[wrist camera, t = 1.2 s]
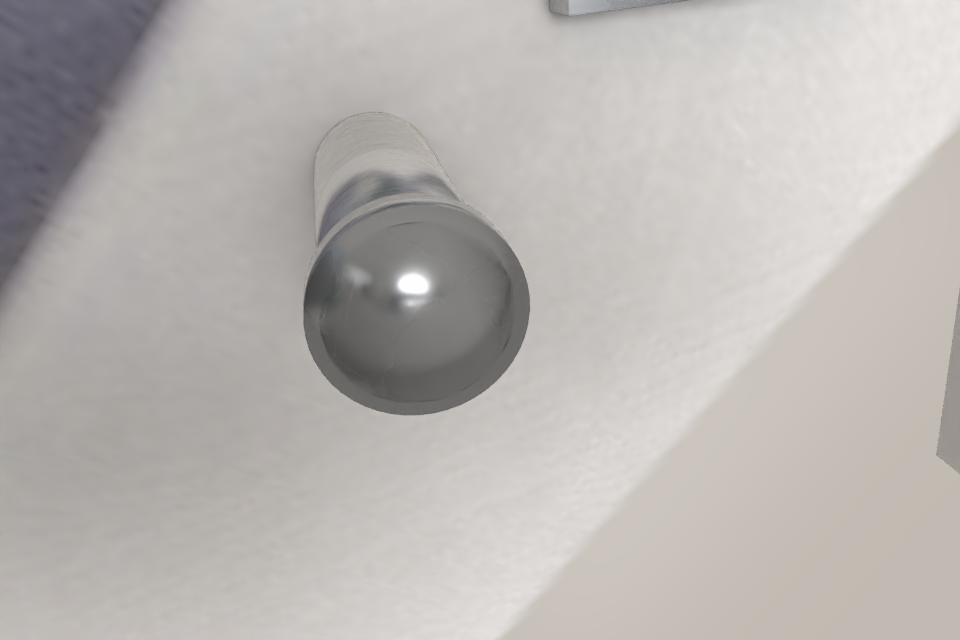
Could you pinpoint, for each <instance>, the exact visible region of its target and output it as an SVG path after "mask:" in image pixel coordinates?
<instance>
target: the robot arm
mask: <svg viewBox="0 0 960 640" xmlns="http://www.w3.org/2000/svg"><path fill="white" fill-rule="evenodd" d="M936 455H937V456H938V457H939V458H940V459H942V460H943V461H944V462H946V463H947V464H948V465H949V466H951V467H952V468H953V469H954V470H956V471H957V472H958V473H959V474H960V290H959V297H958V305H957V312H956V319H955V326H954V333H953V340H952V347H951V354H950V361H949V369H948V376H947V384H946V390H945V397H944V404H943V411H942V418H941V425H940V432H939V439H938V446H937V453H936Z"/></svg>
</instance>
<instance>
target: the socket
mask: <svg viewBox="0 0 960 640" xmlns="http://www.w3.org/2000/svg"><path fill="white" fill-rule="evenodd" d="M679 1H686V0H549V7H550V11H551V12H556V13H560V14H564V15H568V16H572V15H580V14H588V13H595V12H603V11H610V10H618V9H626V8H633V7H641V6H648V5H656V4H664V3H671V2H679Z"/></svg>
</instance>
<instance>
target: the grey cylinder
mask: <svg viewBox="0 0 960 640" xmlns="http://www.w3.org/2000/svg"><path fill="white" fill-rule="evenodd" d="M314 195H315V223H316V251H315V253H314V255H313V257H312V259H311V262H310V264H309V267H308V271H307V274H306V278H305V285H304V329H305V336H306V340H307V343H308V347H309V350H310V352H311V354H312V356H313V359H314V361H315V363H316V364H317V366H318V367H319V369H320V370H321V372H322V373H323V375H324V376H325V377H326V378H327V379H328V380H329V382H330V383H331V384H332V385H333V386H335V387H336V388H337V389H338V390H339V391H340V392H341V393H343V394H344V395H346V396H347V397H349V398H350V399H352V400H353V401H355V402H358V403H360V404H362V405H364V406H366V407H369V408H371V409H374V410H377V411H381V412H386V413H390V414H398V415H424V414H431V413H436V412H440V411H444V410H448V409H451V408H453V407H456V406H459V405H461V404H463V403H465V402H467V401H469V400H471V399H473V398H475V397H476V396H478V395H479V394H481V393H482V392H484V391H485V390H486V389H488V388H489V387H490V386H491V385H492V384H494V383H495V382H496V381H497V380H498V379H499V378H500V377H501V376H502V374H503V373H504V372H505V371H506V370H507V368H508V367H509V366H510V364H511V363H512V362H513V360H514V358H515V357H516V355H517V353H518V351H519V349H520V347H521V345H522V342H523V340H524V337H525V334H526V330H527V326H528V320H529V312H530V297H529V291H528V284H527V281H526V278H525V274H524V271H523V269H522V267H521V265H520V263H519V261H518V259H517V257H516V256H515V254H514V253H513V251H512V250H511V248H510V247H509V245H508V244H507V242H506V241H505V239H504V238H503V236H502V235H501V234H500V232H499V231H498V230H497V229H496V228H495V226H494V225H493V224H492V223H491V222H490V221H489V220H488V219H486V218H485V217H484V216H483V215H482V214H481V213H479V212H478V211H476V210H474V209H473V208H471V207H470V206H468V205H466V204H465V203H464V201H463V200H462V198H461V196H460V195H459V193H458V192H457V190H456V188H455V187H454V185H453V184H452V182H451V181H450V179H449V177H448V176H447V174H446V173H445V171H444V169H443V168H442V166H441V165H440V163H439V162H438V160H437V158H436V157H435V155H434V154H433V152H432V150H431V149H430V147H429V146H428V144H427V143H426V141H425V140H424V138H423V137H422V135H421V134H420V133H419V132H418V131H417V130H416V129H415V128H414V127H413V126H412V125H411V124H409V123H407V122H406V121H404V120H403V119H400V118H398V117H396V116H393V115H390V114H386V113H379V112H369V113H362V114H357V115H354V116H351V117H349V118H347V119H345V120H343V121H341V122H340V123H338V124H337V125H336V126H335V127H333V128H332V129H331V130H330V131H329V132H328V134H327V135H326V136H325V137H324V139H323V141H322V142H321V144H320V146H319V148H318V150H317V153H316V157H315V162H314Z"/></svg>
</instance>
